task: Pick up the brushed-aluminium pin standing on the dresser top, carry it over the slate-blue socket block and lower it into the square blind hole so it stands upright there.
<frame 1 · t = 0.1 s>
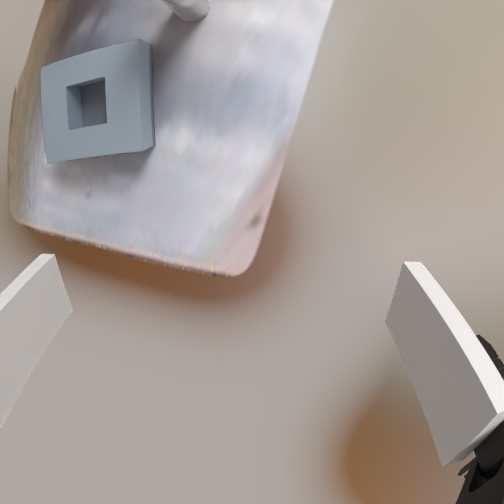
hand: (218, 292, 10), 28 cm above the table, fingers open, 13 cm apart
pin: (193, 8, 26), on the table
socket block: (103, 102, 32), on the table
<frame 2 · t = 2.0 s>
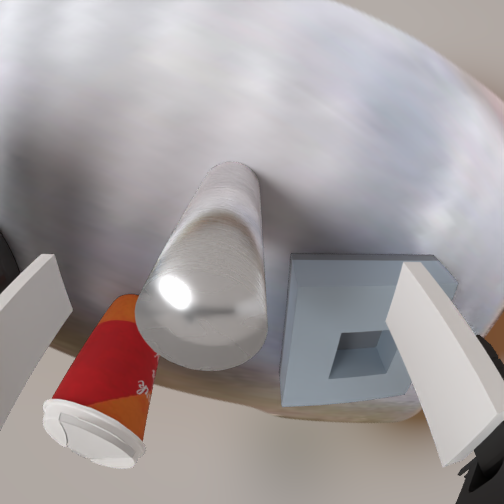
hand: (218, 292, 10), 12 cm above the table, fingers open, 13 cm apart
pin: (230, 189, 21), on the table
socket block: (353, 320, 27), on the table
paper cup: (139, 316, 27), on the table
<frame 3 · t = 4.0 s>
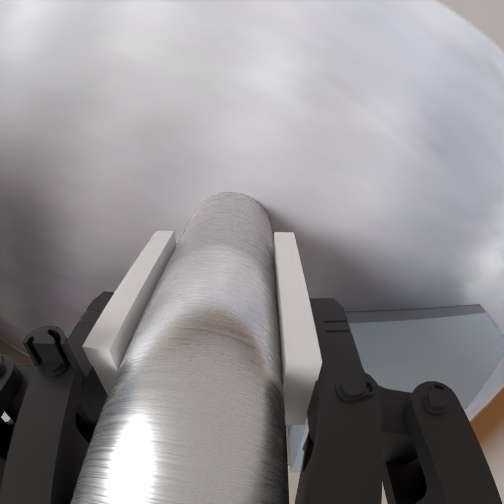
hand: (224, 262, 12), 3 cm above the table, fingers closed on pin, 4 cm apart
pin: (230, 231, 15), on the table, touching gripper
socket block: (379, 379, 20), on the table
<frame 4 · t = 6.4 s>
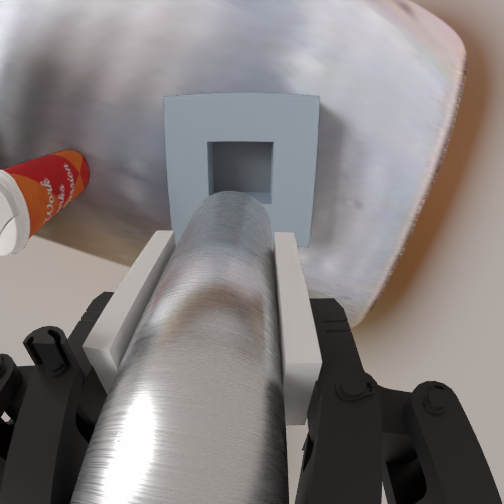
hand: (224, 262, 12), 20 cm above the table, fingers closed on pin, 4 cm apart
pin: (230, 229, 15), point 16 cm above the table, touching gripper
socket block: (242, 162, 30), on the table
paper cup: (71, 171, 30), on the table
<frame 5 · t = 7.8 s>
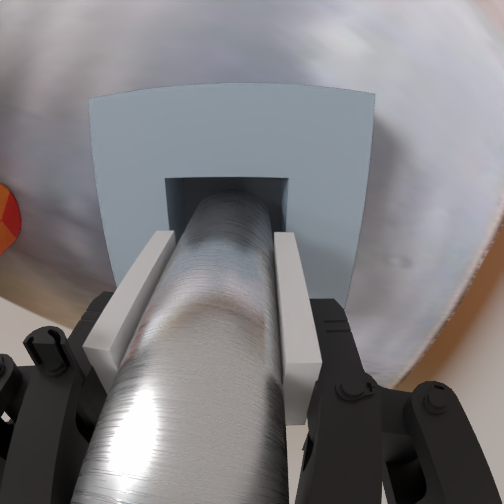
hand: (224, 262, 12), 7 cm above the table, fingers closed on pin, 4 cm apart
pin: (231, 224, 16), point 3 cm above the table, touching gripper
socket block: (233, 203, 19), on the table
paper cup: (2, 211, 19), on the table
when the fingers open (6 cm above the table, at t = 9.0 s): pin stays where it is, resting on socket block.
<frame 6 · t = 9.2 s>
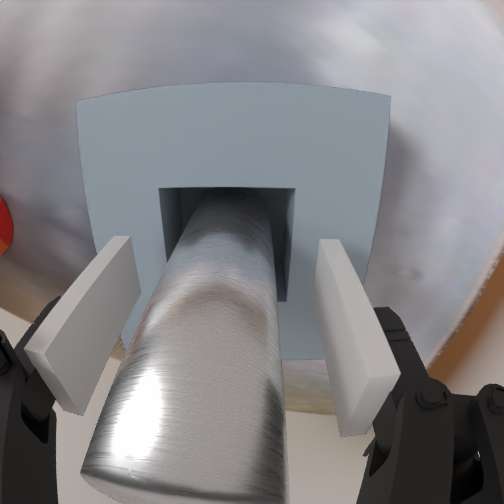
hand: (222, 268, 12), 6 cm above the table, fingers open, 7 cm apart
pin: (232, 218, 16), point 1 cm above the table, touching socket block
socket block: (234, 212, 17), on the table
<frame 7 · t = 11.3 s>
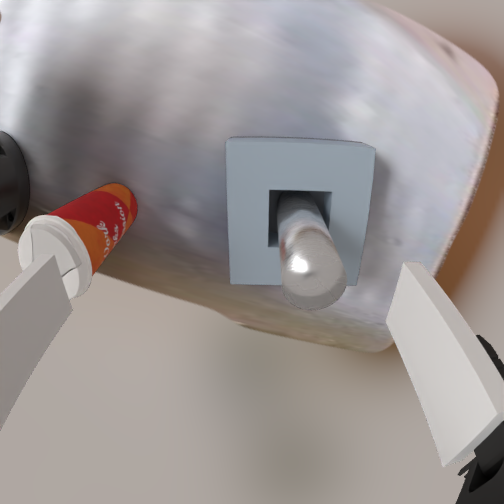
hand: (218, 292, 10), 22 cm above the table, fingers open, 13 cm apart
pin: (296, 207, 30), point 1 cm above the table, touching socket block
socket block: (295, 204, 31), on the table
paper cup: (117, 205, 32), on the table
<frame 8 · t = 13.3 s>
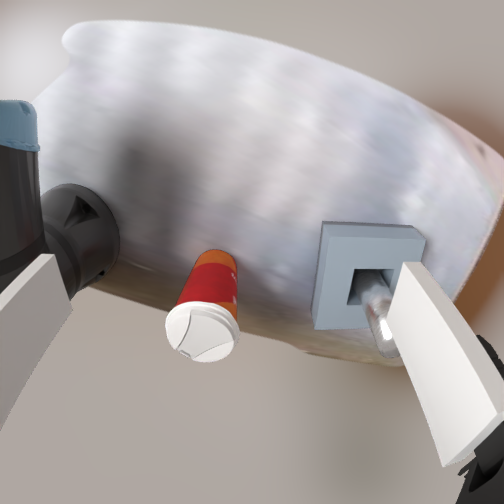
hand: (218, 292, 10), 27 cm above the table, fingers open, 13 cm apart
pin: (362, 273, 40), point 1 cm above the table, touching socket block
socket block: (361, 269, 41), on the table
paper cup: (216, 266, 41), on the table
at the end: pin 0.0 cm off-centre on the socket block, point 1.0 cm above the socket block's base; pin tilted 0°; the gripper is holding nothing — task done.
